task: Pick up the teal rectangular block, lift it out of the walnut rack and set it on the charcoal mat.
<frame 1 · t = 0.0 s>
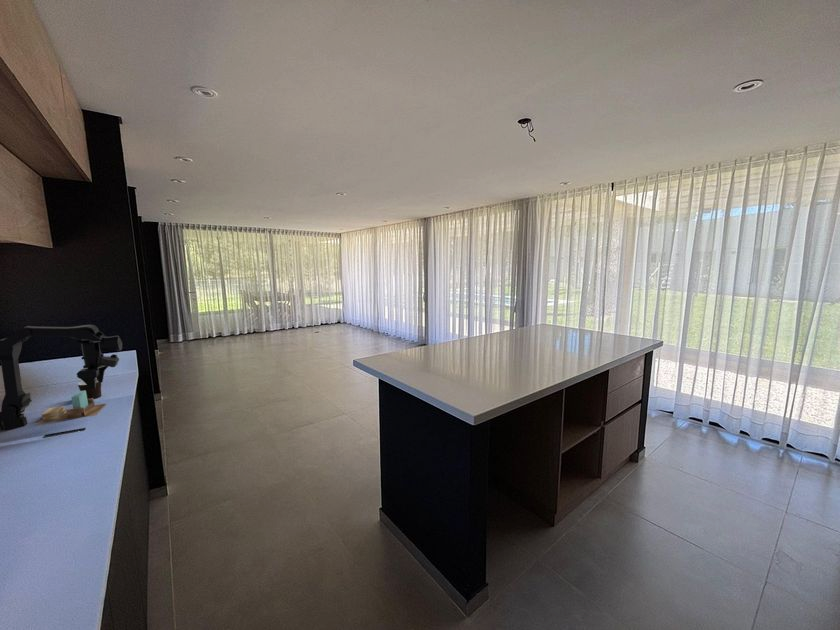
hand: (97, 385, 152), 15 cm above the worktop, tool pointing down, fingers open, 9 cm apart
oak offcut lower: (55, 416, 151), point 1 cm above the worktop, touching oak offcut upper, walnut rack
oak offcut upper: (53, 413, 150), point 3 cm above the worktop, touching oak offcut lower
walnut rack: (73, 416, 154), on the worktop
charcoal mat: (69, 428, 143), on the worktop
teal rectangular block: (82, 412, 155), point 1 cm above the worktop, touching walnut rack
coffee mug: (91, 401, 170), on the worktop
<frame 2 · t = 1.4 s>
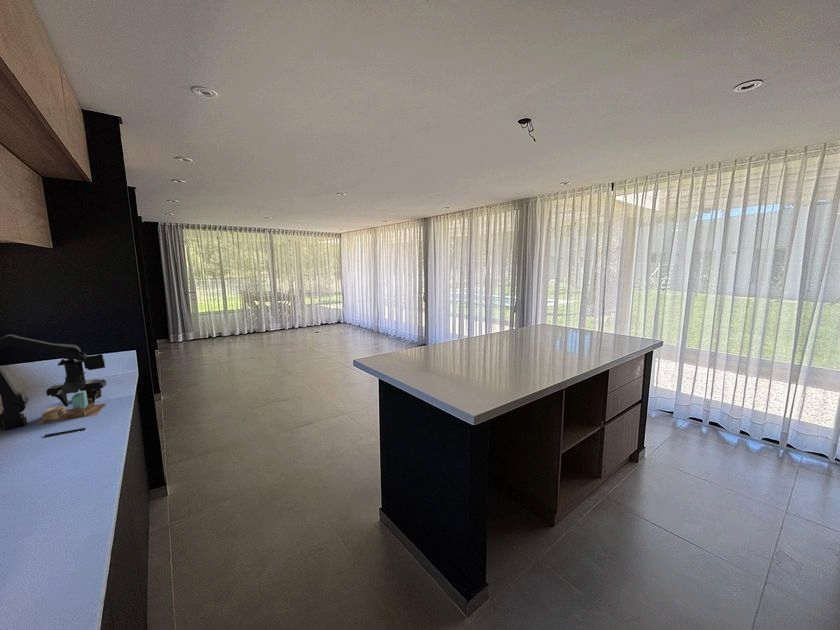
hand: (80, 404, 154), 5 cm above the worktop, tool pointing down, fingers open, 9 cm apart
nothing on the worktop moved.
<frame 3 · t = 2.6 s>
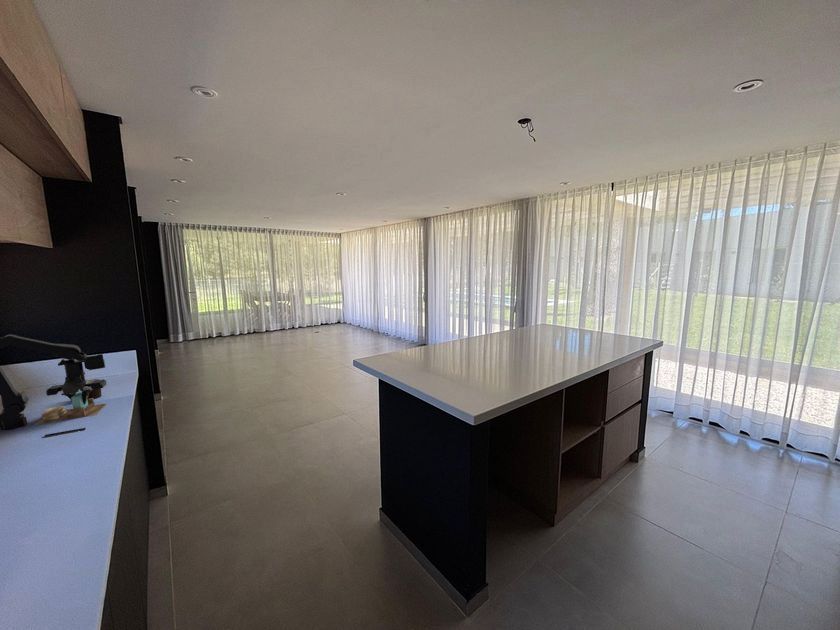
hand: (80, 404, 154), 5 cm above the worktop, tool pointing down, fingers closed on teal rectangular block, 2 cm apart
teal rectangular block: (82, 412, 155), point 1 cm above the worktop, touching gripper, walnut rack
everything else where it was.
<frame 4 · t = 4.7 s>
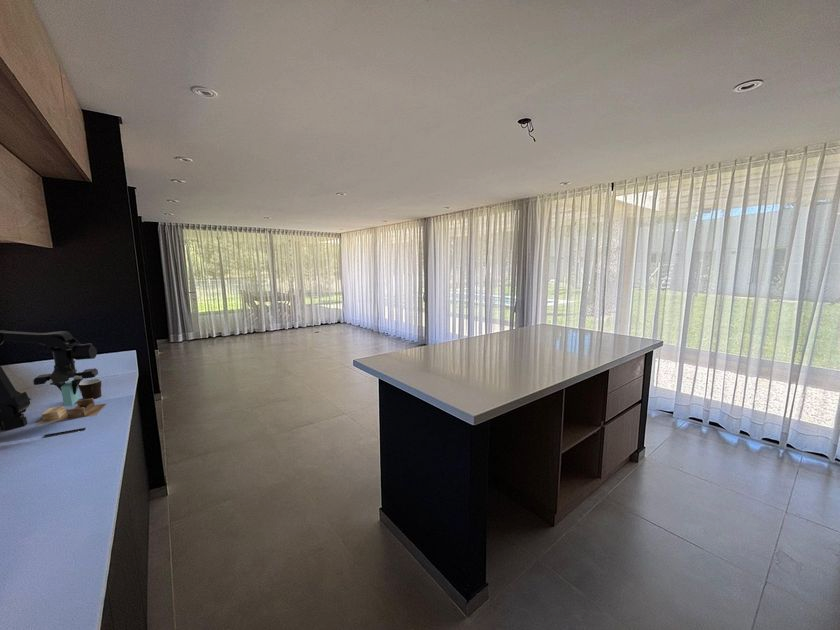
hand: (70, 394, 146), 13 cm above the worktop, tool pointing down, fingers closed on teal rectangular block, 2 cm apart
teal rectangular block: (72, 402, 147), point 9 cm above the worktop, touching gripper
everything else where it was.
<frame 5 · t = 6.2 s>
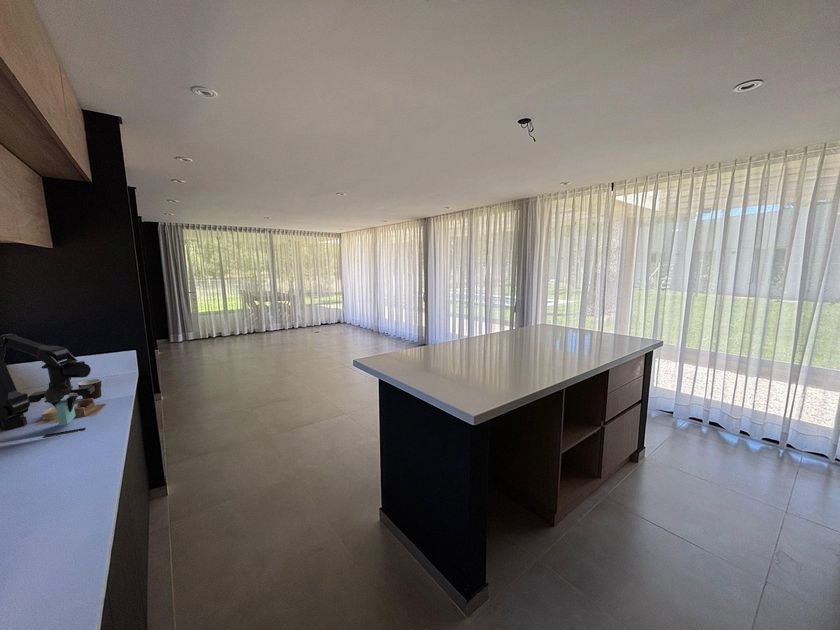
hand: (66, 412, 142), 7 cm above the worktop, tool pointing down, fingers closed on teal rectangular block, 2 cm apart
teal rectangular block: (67, 420, 142), point 4 cm above the worktop, touching gripper
everything else where it was.
when the fingers open (6 cm above the worktop, at t = 7.2 s): teal rectangular block drops 1 cm, resting on charcoal mat.
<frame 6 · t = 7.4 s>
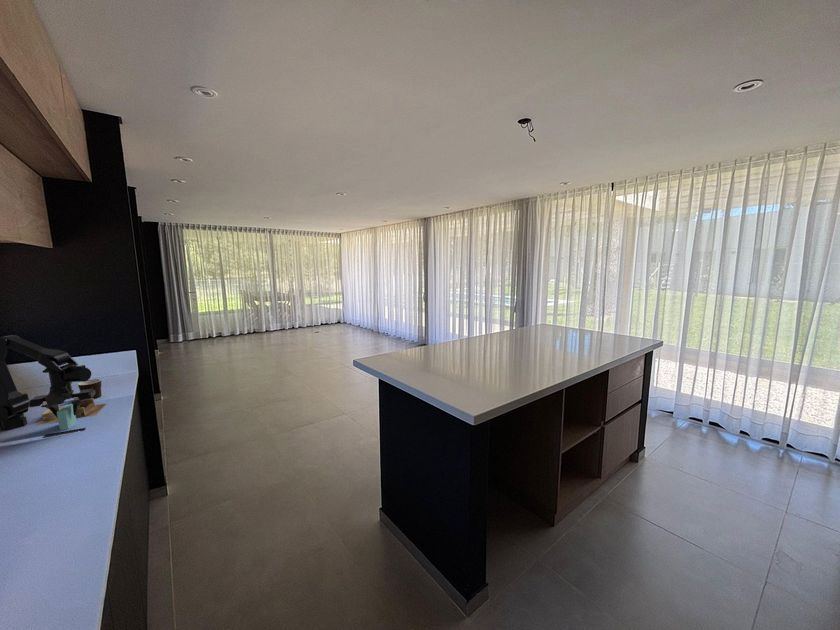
hand: (67, 416, 142), 6 cm above the worktop, tool pointing down, fingers open, 5 cm apart
teal rectangular block: (69, 427, 143), resting on charcoal mat
everything else where it was.
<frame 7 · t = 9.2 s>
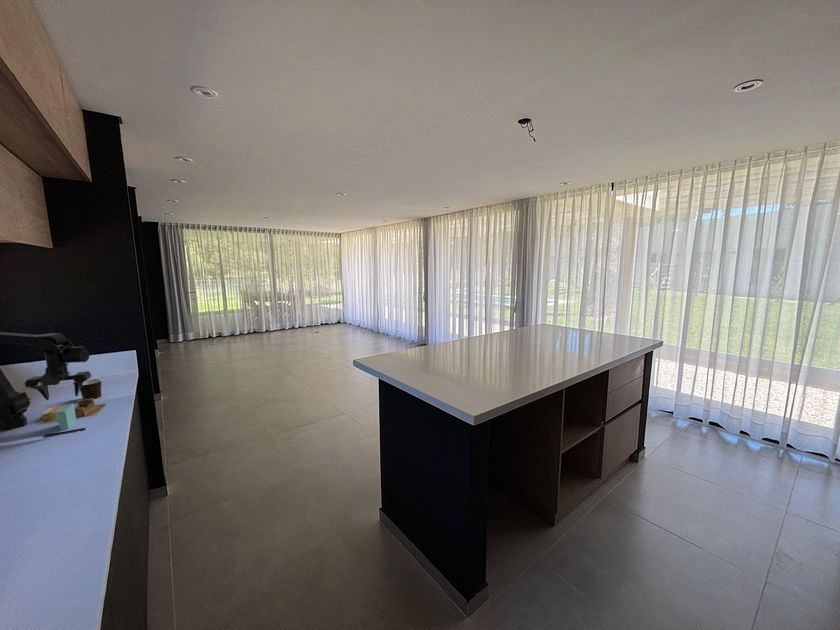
hand: (62, 397, 144), 13 cm above the worktop, tool pointing down, fingers open, 9 cm apart
nothing on the worktop moved.
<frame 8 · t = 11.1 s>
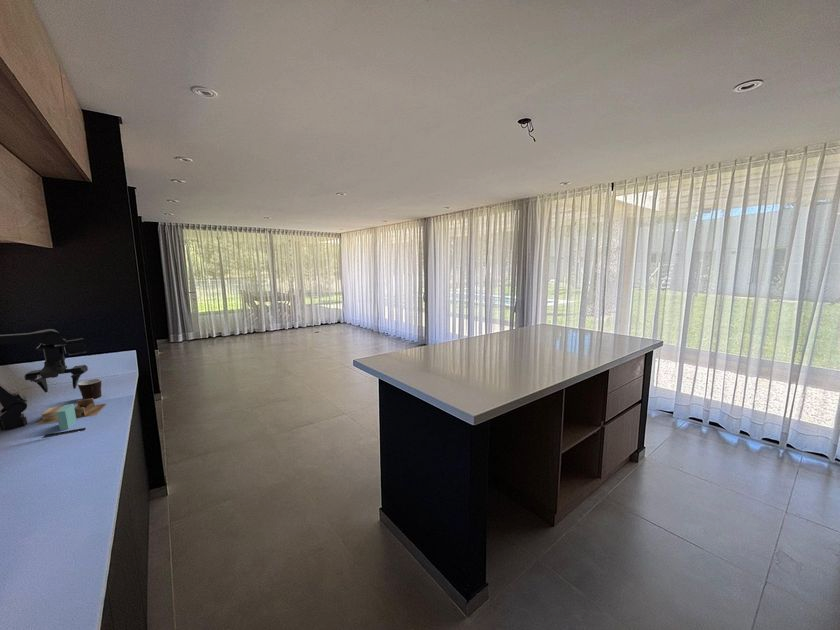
hand: (60, 390, 151), 13 cm above the worktop, tool pointing down, fingers open, 9 cm apart
nothing on the worktop moved.
at the end: teal rectangular block inside the target area (0.0 cm from its centre), point 0.5 cm above the worktop; teal rectangular block tilted 0°; oak offcut upper moved 0.0 cm from its start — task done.
